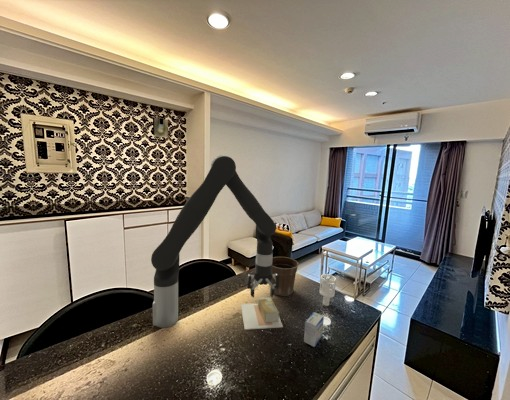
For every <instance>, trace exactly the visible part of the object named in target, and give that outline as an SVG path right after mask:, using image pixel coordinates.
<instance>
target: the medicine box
mask: <svg viewBox="0 0 510 400" xmlns="http://www.w3.org/2000/svg"><path fill="white" fill-rule="evenodd" d="M324 318H325V317H324V315H322V314H321V313H317V312H314V311H313V312H312V313H311V314H310V316H309V317H308V318H307V319H306V320H305V322H304V337H303V342H304V343H305V344H307V345H310V346H311V347H314V348H315V347H316V346H317V344H318V343H319V341H320V340H321V338H322V336H323V331H324V320H325V319H324Z"/></svg>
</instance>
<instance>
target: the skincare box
mask: <svg viewBox="0 0 510 400" xmlns="http://www.w3.org/2000/svg"><path fill="white" fill-rule="evenodd" d="M257 303H258V304H257V306H258V308H259V310H260V313H261V315H262V317H263V319H264V322H265V323H267V322H276V321H278V320H279V317H280V311H279V310H278V307H277V306H276V305H275V303H274V301H273V299H272V297H271V296H264V297H263V296H262V297H258V298H257Z"/></svg>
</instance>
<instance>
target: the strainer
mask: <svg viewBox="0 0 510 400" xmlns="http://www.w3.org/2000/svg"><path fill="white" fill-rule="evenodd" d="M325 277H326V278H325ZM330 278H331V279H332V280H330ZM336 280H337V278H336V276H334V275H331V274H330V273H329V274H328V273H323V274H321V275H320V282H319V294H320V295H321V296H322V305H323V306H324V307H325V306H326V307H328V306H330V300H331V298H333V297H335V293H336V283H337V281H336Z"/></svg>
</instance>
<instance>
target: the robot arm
mask: <svg viewBox="0 0 510 400" xmlns="http://www.w3.org/2000/svg"><path fill="white" fill-rule="evenodd" d="M236 169H237V165H236V163H235V160H234V159H233V158H232V157H230V156H229V155H220V154H219V155H217V156H216V157H214V158H213V159H212V161H211V164H210V169H209V171H208V173H207V175H206V177H205V178H204V180H203V182H202V183H201V184H200V186H199V187H198V188H197V189H196V190H195V191H194V192H193V193H192V194H191V195H190V197H189V198H188V199H187V201H186V202H185V204H184V205H183V206H182V208H181V210H180V212H179V213H178V214H177V217H176V218H175V220H174V221H173V224H172V226H171V228H170V230H169V232H168V233H167V235H166V237H165V238H164V239H163V240H162V242H161V243H160V244H159V245H158V246H157V247H156V248H155V249H154V251H152V254H151V259H150V260H151V265H152V267H153V268H154V269H155V272H154V275H153V302H152V326H154V327H157V328H163V329H165V328H170V327H171V326H174V325H175V324H176V323H177V322H178V321H179V274H180V254H181V251H182V249H183V247H184V246H185V244H186V242H187V241H188V240H189V239H190V238H191V237H192V235H194V233H195V232H196V230H197V229H198V228H199V227H200V225H201V224H202V222H203V221H204V220H205V218H206V216H207V214H208V213H209V211H210V210H211V208H212V207H213V205H214V203H215V202H216V199H217V197H218V195H219V194H220V192H221V191H222V190H223V189H224V187H225V186H226V187H227V188H228V190H230V193H232V195H233V196H234V199H236V201H237V202H238V203H239V204H238V205H240V206H241V209H242V210H243V211H244V212H245V214H246V215H247V216H248V217H249V218H250V220H252V221H253V222H254V223H255V236H256V255H255V266H254V267H255V269H254V274H251V273H248V274H247V278H246V279H247V280H246V281H247V282H246V287H247V290H250V297H252V298H255V289H256V288H257V287H258V286H259V285H260V286H262V285H263V286H264V285H267V284H268V286H269V287H270V286H271V288H269V289H270V291H269V292H270V294H269V295H270V296H269V297H270V298H273V297H274V295H275V294H274V289H275V288H278V287H279V276H278V274H277V273H275V274H272V262H273V252H274V251H273V250H274V249H273V247H274V243H273V241H272V239H271V237H272V236H273V235H275V234H276V232H277V225H276V222H275V221H274V220H273V219H272V217H271V216H270V215H269V214H268V213H267V212H266V211H265V209H264V208H263V206H262V205H261V204H260V202H259V201H258V199H257V198H256V197H255V195H254V193H252V191H251V190H249V188H248V187H247V186H246V185H245V183H244V182H243V181H242V179H241V178H240V176H239V174H238V172H237V170H236ZM273 277H274V279H275V284H273V283H272V282H271V281H270V280H271V279H272V278H273ZM253 279H254V280H253ZM252 280H253V282H252Z"/></svg>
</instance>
